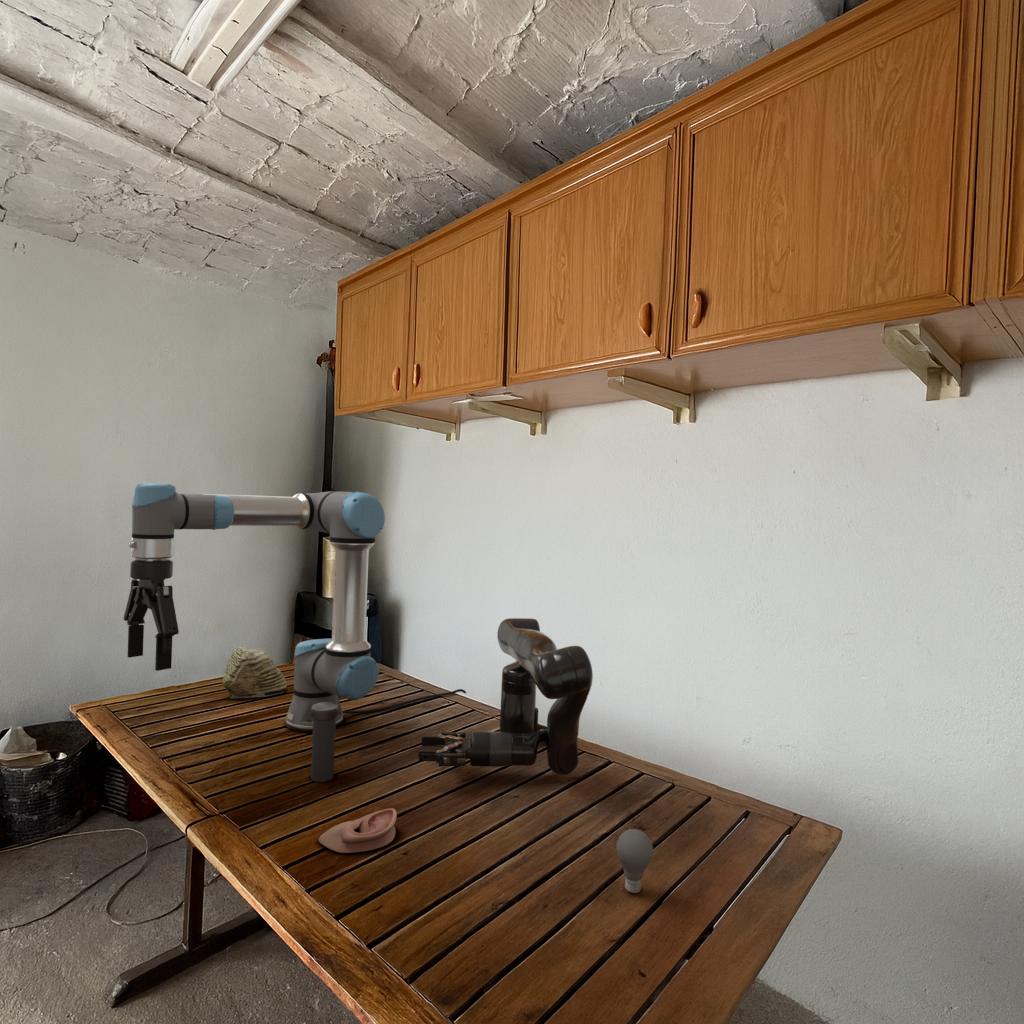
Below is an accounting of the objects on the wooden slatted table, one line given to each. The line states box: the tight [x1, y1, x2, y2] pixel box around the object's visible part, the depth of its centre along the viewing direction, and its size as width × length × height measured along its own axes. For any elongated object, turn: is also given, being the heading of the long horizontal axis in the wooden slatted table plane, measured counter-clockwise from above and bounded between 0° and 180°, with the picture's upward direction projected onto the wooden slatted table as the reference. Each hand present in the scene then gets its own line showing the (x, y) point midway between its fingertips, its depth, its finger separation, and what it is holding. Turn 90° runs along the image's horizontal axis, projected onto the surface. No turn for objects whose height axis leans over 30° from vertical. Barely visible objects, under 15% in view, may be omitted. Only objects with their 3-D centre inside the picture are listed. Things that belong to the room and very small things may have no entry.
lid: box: [311, 702, 339, 720], centre depth 143 cm, size 6×6×2 cm
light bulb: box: [615, 828, 654, 894], centre depth 106 cm, size 6×6×10 cm
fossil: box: [222, 646, 288, 699], centre depth 198 cm, size 9×18×15 cm, turn 132°
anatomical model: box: [318, 807, 398, 854], centre depth 118 cm, size 13×4×12 cm
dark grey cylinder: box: [310, 718, 336, 783], centre depth 143 cm, size 5×5×16 cm
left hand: (148, 662), depth 129 cm, fingers open, 13 cm apart
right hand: (420, 748), depth 144 cm, fingers open, 8 cm apart
